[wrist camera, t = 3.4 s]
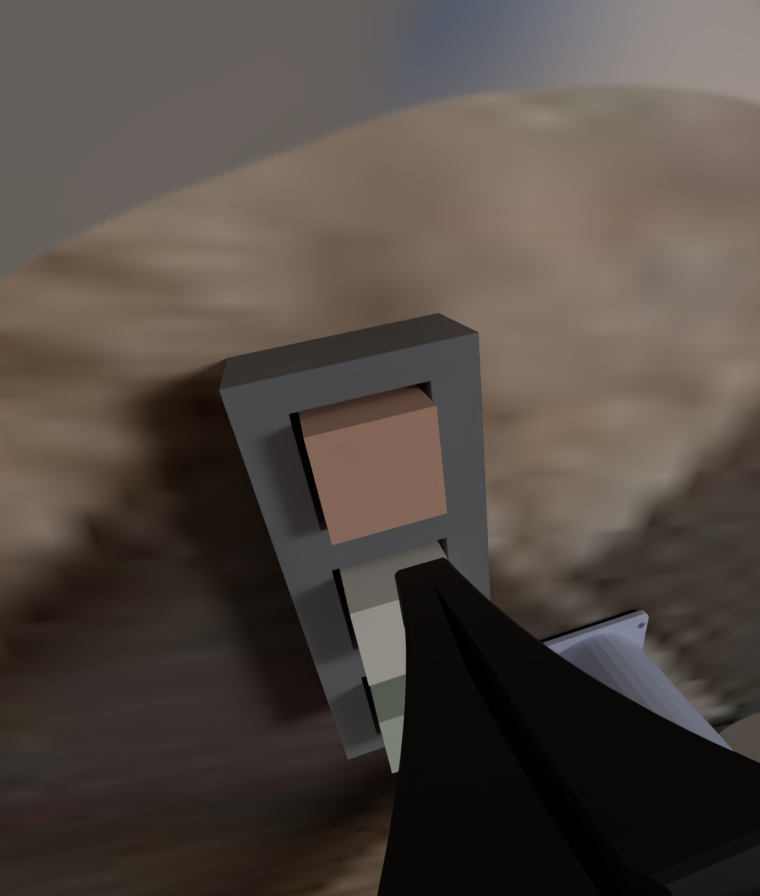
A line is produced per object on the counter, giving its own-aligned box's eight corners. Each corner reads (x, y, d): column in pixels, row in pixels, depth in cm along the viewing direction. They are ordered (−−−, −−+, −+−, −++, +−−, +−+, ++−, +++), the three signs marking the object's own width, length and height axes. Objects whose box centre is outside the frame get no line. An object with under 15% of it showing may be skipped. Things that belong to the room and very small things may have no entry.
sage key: (447, 677, 24) (474, 744, 21) (375, 701, 23) (392, 773, 20) (440, 626, 22) (469, 692, 19) (362, 651, 21) (379, 723, 18)
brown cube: (415, 464, 18) (447, 513, 15) (319, 489, 17) (332, 545, 14) (403, 371, 16) (436, 405, 13) (295, 396, 16) (303, 437, 13)
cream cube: (435, 590, 20) (466, 654, 17) (352, 615, 20) (369, 686, 17) (427, 522, 19) (460, 581, 16) (334, 549, 18) (349, 614, 15)
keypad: (468, 652, 26) (495, 708, 23) (337, 695, 25) (348, 759, 22) (439, 313, 17) (478, 332, 14) (227, 358, 16) (218, 390, 13)
